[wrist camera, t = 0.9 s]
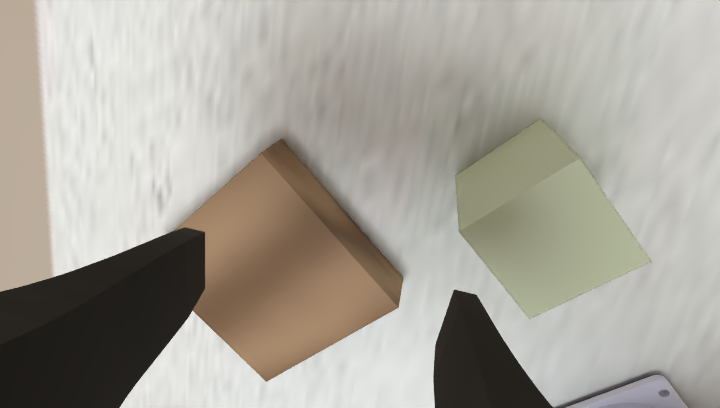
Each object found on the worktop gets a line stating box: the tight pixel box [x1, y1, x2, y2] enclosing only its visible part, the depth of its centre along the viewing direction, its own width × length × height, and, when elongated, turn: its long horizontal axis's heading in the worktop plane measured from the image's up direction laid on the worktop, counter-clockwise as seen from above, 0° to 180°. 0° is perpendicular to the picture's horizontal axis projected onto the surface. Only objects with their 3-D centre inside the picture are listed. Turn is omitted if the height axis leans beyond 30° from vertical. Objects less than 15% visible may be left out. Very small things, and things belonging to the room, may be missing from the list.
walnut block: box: [175, 139, 403, 382], centre depth 23 cm, size 10×10×3 cm
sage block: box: [455, 119, 651, 319], centre depth 17 cm, size 4×4×6 cm
